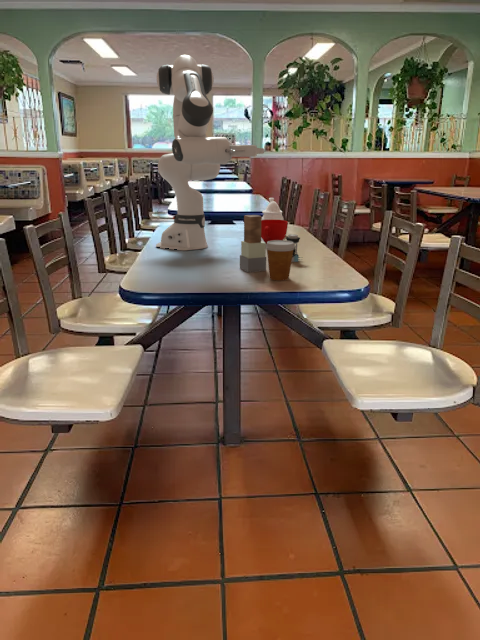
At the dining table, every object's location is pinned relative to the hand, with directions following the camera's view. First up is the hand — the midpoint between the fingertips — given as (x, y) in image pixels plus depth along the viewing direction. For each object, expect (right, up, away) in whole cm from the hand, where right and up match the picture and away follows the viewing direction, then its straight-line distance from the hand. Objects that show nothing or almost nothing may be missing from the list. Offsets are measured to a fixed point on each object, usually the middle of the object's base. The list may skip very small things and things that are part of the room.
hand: (257, 150), depth 174 cm
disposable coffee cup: (+7, -46, -9) cm, 47 cm away
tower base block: (-1, -41, +3) cm, 42 cm away
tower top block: (-1, -37, +2) cm, 37 cm away
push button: (+15, -37, +16) cm, 43 cm away
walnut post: (-2, -32, 0) cm, 32 cm away
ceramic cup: (+8, -25, +51) cm, 57 cm away
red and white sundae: (+10, -17, +75) cm, 77 cm away
